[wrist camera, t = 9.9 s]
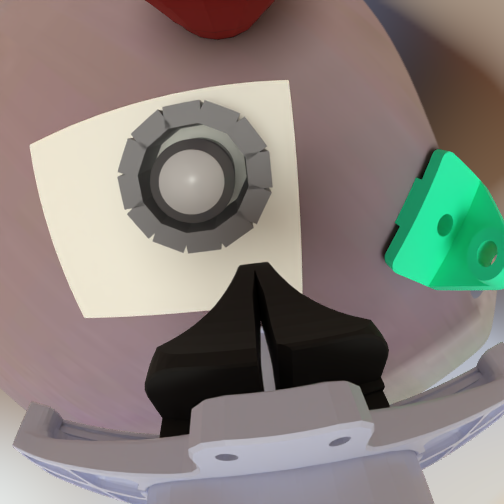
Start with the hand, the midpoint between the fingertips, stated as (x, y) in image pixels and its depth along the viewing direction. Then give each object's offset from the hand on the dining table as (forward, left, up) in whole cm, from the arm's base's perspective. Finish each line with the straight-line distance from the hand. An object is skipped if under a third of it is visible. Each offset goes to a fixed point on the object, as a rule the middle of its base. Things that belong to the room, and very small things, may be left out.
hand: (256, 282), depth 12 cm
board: (+1, +7, -10) cm, 12 cm away
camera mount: (-2, -18, -10) cm, 20 cm away
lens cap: (+4, +3, -9) cm, 10 cm away
